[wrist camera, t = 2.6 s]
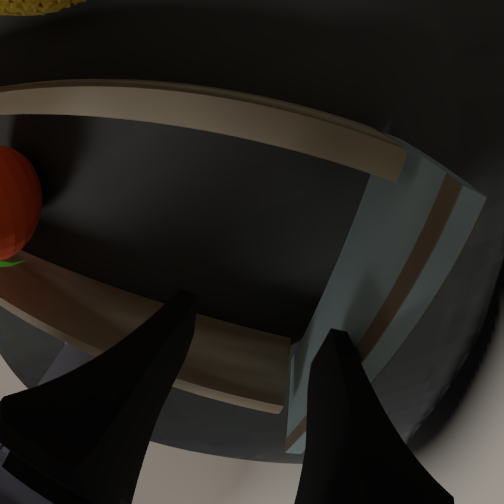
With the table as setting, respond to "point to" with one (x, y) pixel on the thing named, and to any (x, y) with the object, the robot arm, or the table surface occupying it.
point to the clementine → (17, 203)
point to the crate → (141, 308)
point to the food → (35, 6)
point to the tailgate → (387, 270)
